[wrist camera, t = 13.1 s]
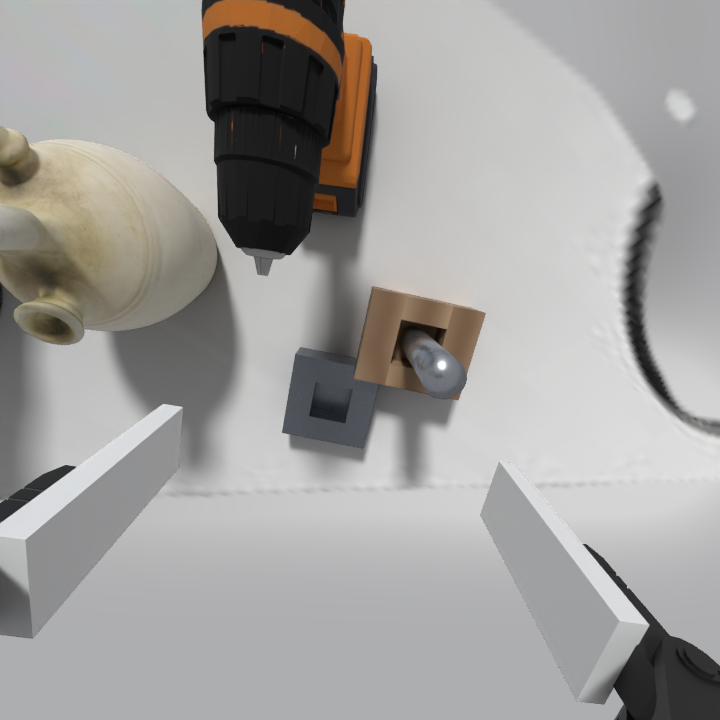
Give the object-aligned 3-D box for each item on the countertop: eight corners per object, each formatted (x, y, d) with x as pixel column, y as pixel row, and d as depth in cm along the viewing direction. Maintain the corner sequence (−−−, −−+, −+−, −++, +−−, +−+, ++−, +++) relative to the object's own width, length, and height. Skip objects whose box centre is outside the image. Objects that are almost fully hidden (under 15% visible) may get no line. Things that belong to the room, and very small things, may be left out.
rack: (354, 366, 42) (354, 378, 37) (372, 286, 39) (374, 288, 35) (447, 385, 43) (458, 400, 38) (470, 307, 40) (485, 313, 35)
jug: (223, 330, 41) (25, 418, 17) (93, 298, 40) (-318, 343, 16) (243, 196, 37) (22, 59, 13) (100, 158, 36) (-434, -70, 12)
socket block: (288, 420, 44) (282, 432, 40) (300, 347, 41) (295, 354, 38) (362, 434, 44) (363, 448, 41) (379, 363, 42) (381, 371, 38)
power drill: (353, 276, 39) (342, 289, 15) (290, 268, 39) (174, 267, 15) (379, 56, 34) (430, -492, 9) (306, 44, 33) (163, -547, 9)
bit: (396, 349, 40) (418, 394, 25) (402, 323, 40) (429, 352, 24) (422, 355, 40) (459, 403, 25) (429, 329, 40) (472, 362, 24)
